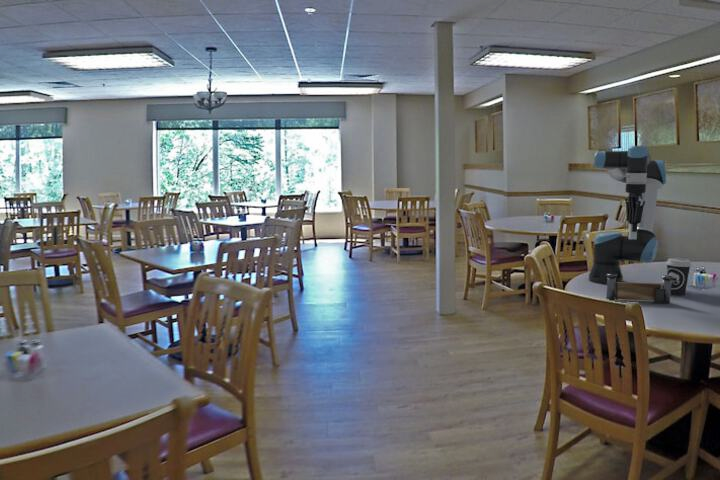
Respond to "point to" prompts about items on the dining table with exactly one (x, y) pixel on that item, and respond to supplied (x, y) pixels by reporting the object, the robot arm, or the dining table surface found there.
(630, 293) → the brown wooden board
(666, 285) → the post
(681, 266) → the coffee cup
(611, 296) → the hinge post
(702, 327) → the dining table surface
